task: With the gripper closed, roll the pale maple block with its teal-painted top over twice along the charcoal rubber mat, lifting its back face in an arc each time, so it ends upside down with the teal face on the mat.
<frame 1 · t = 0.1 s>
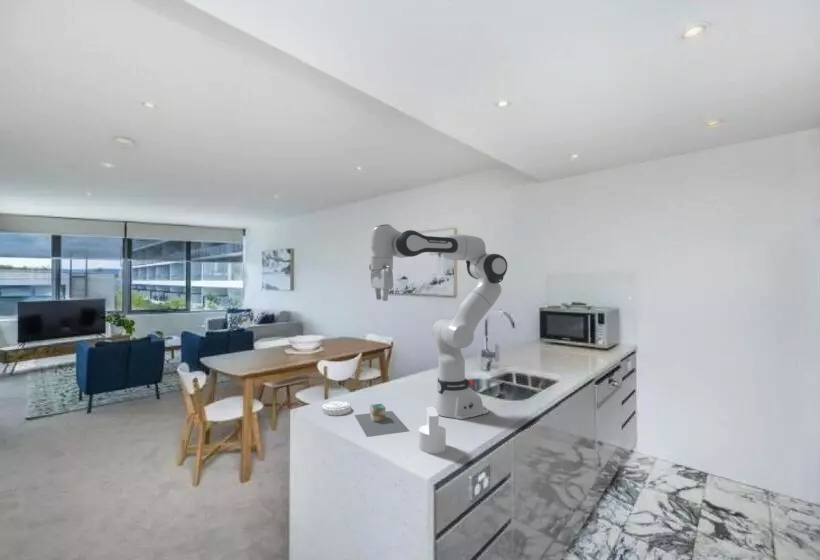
hand: (381, 300, 152), 48 cm above the table, tool pointing down, fingers open, 8 cm apart
white mooncake: (336, 413, 162), on the table
maple block: (377, 418, 152), point 1 cm above the table, touching rubber mat
rubber mat: (380, 424, 148), on the table
white cylinder with post: (432, 448, 128), on the table
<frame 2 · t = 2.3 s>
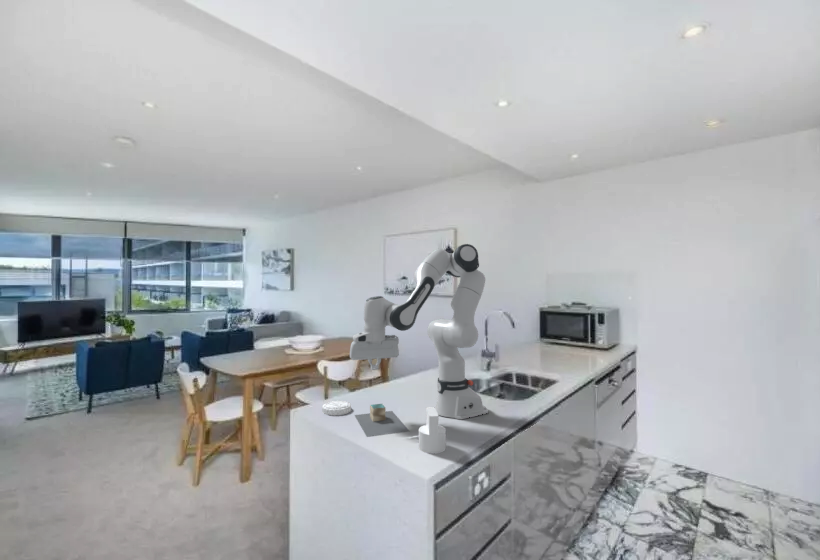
hand: (374, 369, 158), 19 cm above the table, tool pointing down, fingers closed
nothing on the table moved.
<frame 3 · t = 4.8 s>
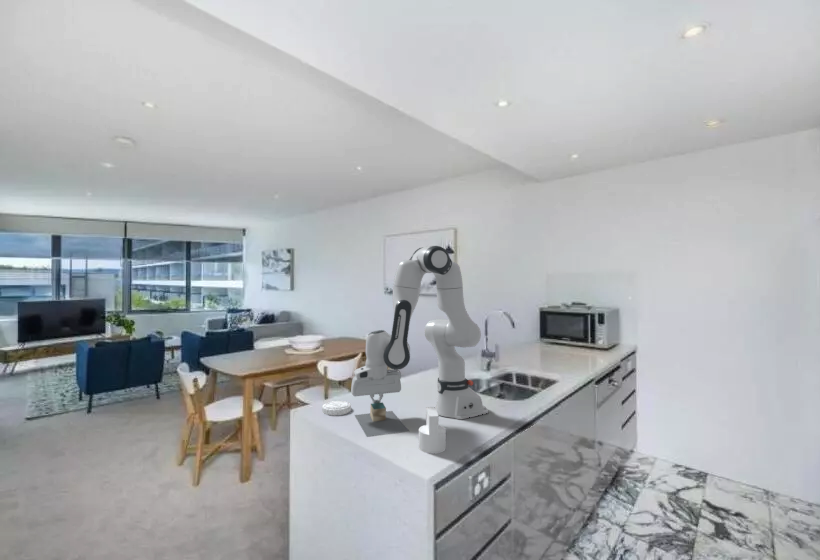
hand: (376, 404, 155), 5 cm above the table, tool pointing down, fingers closed, pressing on maple block
maple block: (377, 417, 152), point 1 cm above the table, tilted 9°, touching gripper, rubber mat
everything else where it was.
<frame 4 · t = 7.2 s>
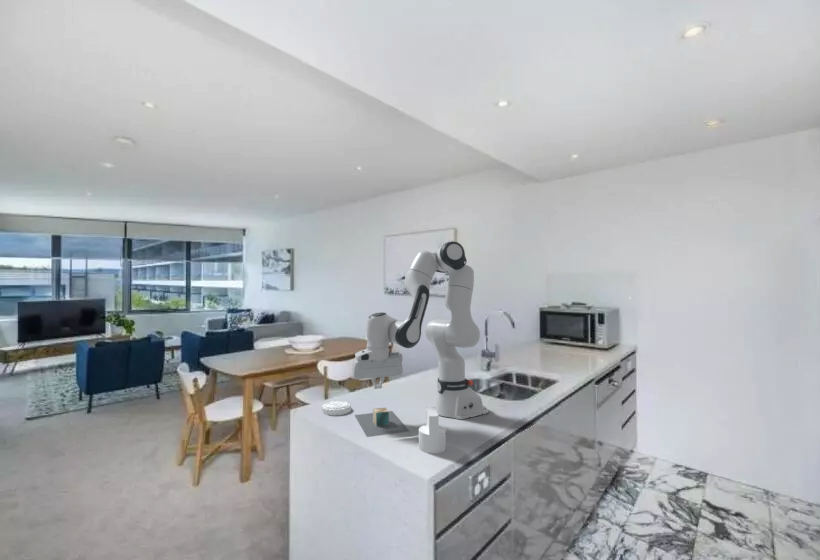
hand: (377, 388, 153), 13 cm above the table, tool pointing down, fingers closed
maple block: (379, 414, 150), point 3 cm above the table, tilted 90°, touching rubber mat
everything else where it was.
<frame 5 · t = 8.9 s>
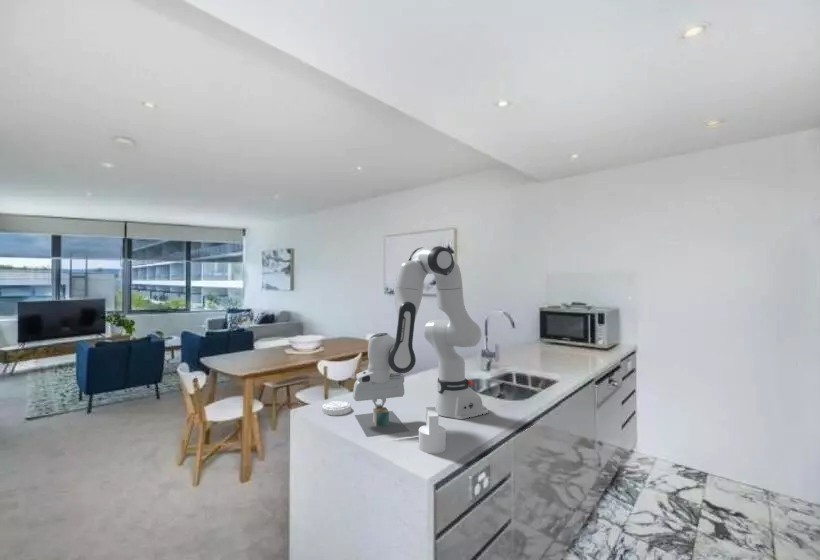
hand: (379, 409, 151), 5 cm above the table, tool pointing down, fingers closed, pressing on maple block
maple block: (379, 414, 150), point 3 cm above the table, tilted 92°, touching gripper, rubber mat
everything else where it was.
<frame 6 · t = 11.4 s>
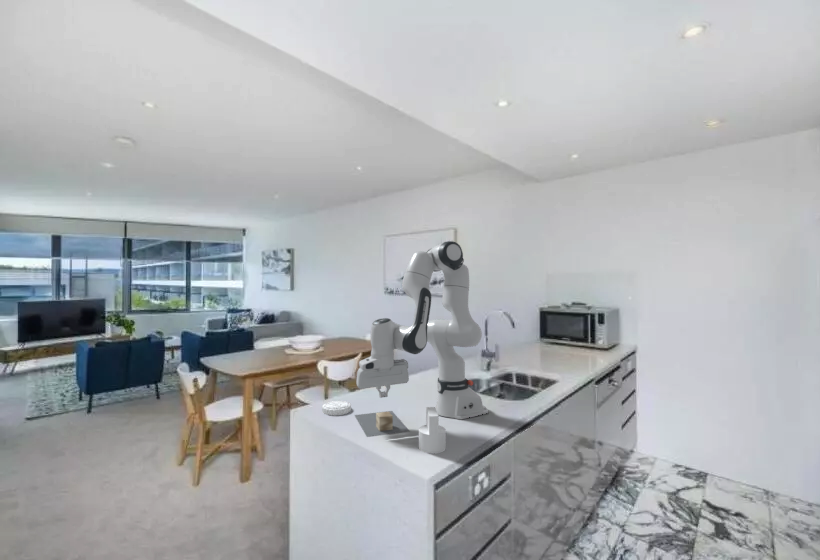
hand: (383, 396, 147), 11 cm above the table, tool pointing down, fingers closed
maple block: (384, 414, 143), point 6 cm above the table, tilted 180°, touching rubber mat
everything else where it was.
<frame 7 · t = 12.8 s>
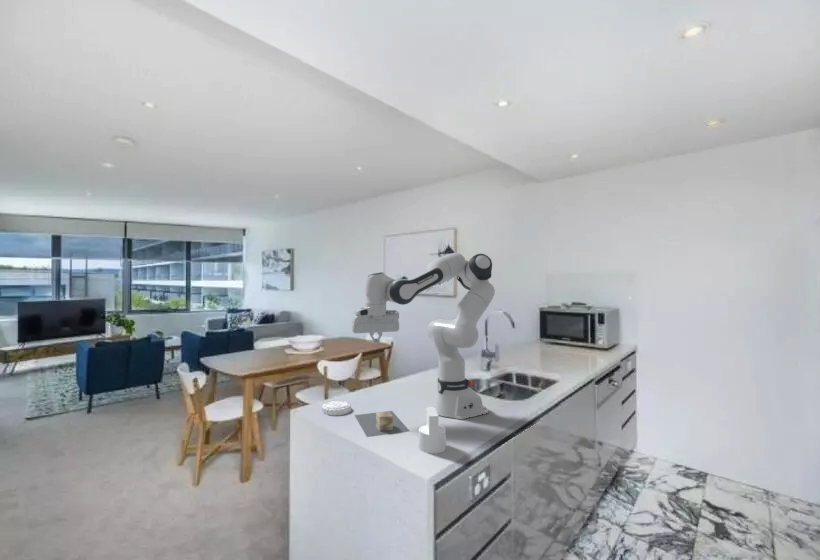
hand: (375, 342, 163), 29 cm above the table, tool pointing down, fingers closed
nothing on the table moved.
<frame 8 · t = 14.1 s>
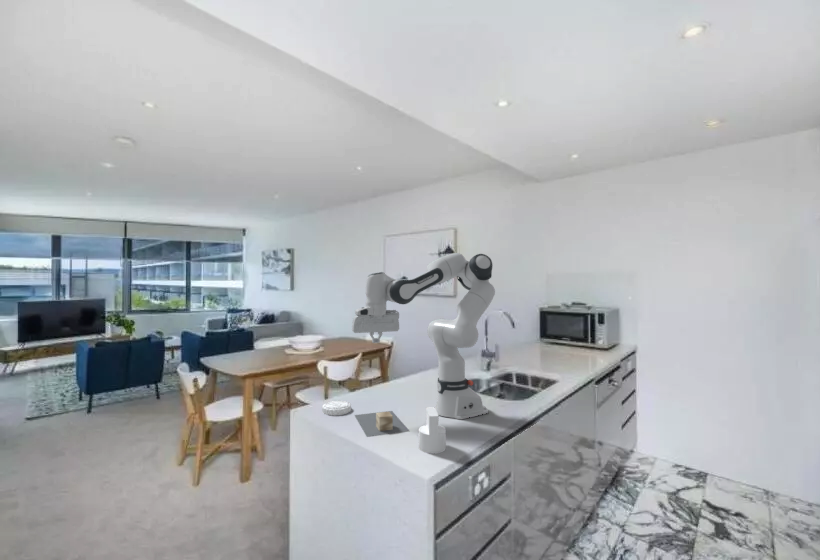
hand: (375, 342, 163), 29 cm above the table, tool pointing down, fingers closed
nothing on the table moved.
at the end: maple block tilted 180°; maple block inside the target area (0.0 cm from its centre), point 5.6 cm above the table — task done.
